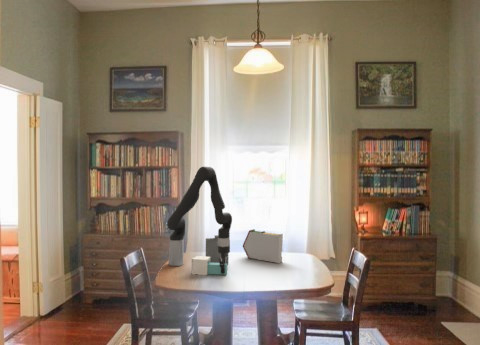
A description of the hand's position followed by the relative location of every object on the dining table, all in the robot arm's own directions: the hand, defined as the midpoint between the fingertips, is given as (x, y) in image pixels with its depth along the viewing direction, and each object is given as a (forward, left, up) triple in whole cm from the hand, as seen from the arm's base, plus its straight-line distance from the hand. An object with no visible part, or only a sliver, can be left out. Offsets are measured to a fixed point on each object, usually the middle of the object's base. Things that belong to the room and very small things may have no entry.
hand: (223, 271), depth 219 cm
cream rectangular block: (-15, 0, -2) cm, 15 cm away
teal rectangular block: (-5, 0, -1) cm, 5 cm away
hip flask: (-10, +22, -2) cm, 24 cm away
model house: (+20, +42, -2) cm, 47 cm away
